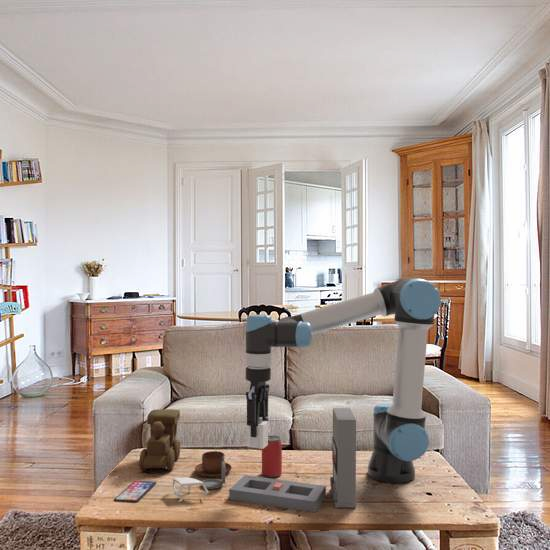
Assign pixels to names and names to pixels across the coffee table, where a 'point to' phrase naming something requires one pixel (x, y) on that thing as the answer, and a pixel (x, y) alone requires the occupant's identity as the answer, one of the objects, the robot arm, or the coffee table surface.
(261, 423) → the plug
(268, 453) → the beer can
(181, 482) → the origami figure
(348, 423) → the upright grey rectangular panel
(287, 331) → the robot arm
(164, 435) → the wooden toy train
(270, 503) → the power strip
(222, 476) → the pocket watch
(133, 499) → the smartphone
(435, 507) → the coffee table surface
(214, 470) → the cup and saucer
